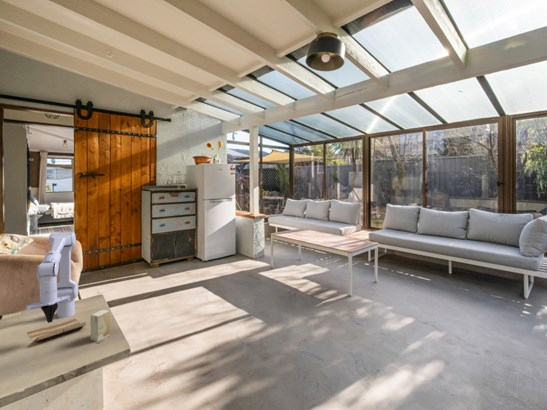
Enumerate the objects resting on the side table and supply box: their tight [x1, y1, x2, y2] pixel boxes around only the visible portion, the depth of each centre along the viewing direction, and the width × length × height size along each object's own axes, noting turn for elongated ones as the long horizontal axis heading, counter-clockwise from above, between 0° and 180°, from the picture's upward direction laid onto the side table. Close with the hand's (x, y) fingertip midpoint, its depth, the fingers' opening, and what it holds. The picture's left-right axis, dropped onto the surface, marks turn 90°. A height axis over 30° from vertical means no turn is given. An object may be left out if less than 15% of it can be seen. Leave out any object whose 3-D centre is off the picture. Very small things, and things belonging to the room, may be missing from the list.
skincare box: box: [90, 309, 111, 344], centre depth 125 cm, size 6×4×12 cm
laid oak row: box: [26, 317, 81, 341], centre depth 132 cm, size 10×18×1 cm, turn 141°
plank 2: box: [60, 321, 87, 335], centre depth 130 cm, size 7×8×1 cm
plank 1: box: [34, 329, 63, 343], centre depth 123 cm, size 7×8×1 cm
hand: (49, 321), depth 122 cm, fingers closed
